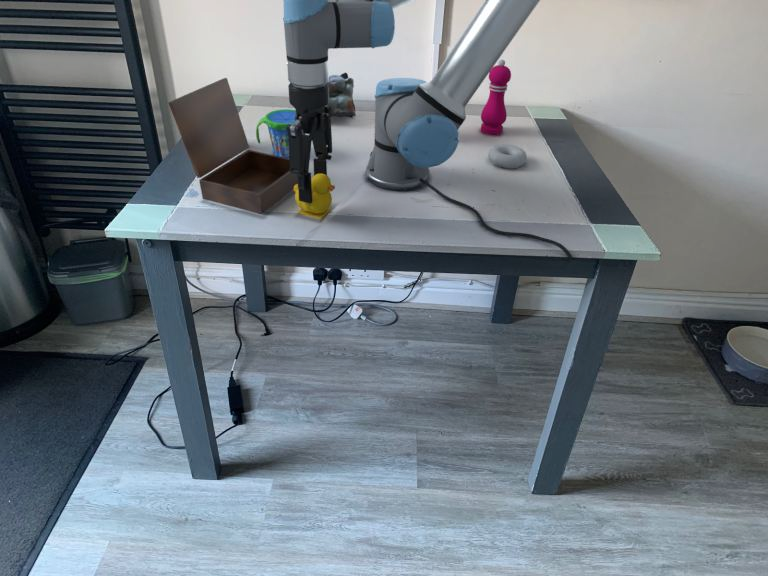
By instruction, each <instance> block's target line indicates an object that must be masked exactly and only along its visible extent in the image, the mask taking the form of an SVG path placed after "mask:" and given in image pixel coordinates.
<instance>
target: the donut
mask: <svg viewBox="0 0 768 576" xmlns="http://www.w3.org/2000/svg"><path fill="white" fill-rule="evenodd" d="M527 155H528V154H527V153H526V151H525V150H524V149H523V148H521V147H519V146H517V145H513V144H504V143H503V144H497V145H494V146H492V147H491V148H490V149H489V151H487V158H488V160H489V162H490V163H491V164H492V165H494V166H496V167H499V168H503V169H517V168H520V167H522V166H523V165H525V164H526V162H527V159H528V156H527Z"/></svg>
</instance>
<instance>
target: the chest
mask: <svg viewBox="0 0 768 576" xmlns="http://www.w3.org/2000/svg"><path fill="white" fill-rule="evenodd" d="M296 184H298V179H297V175H296V174H292V173H290V162H289V158H284V157H280V156H276V155H275V154H270V153H266V152H261V151H258V150H253V149H246V150H245V151H243V152H241V153H240V154H238V155H236V156H235V157H233V158H232V159H230V160H228V161H227V162H225V163H223V164H222V165H220V166H219V167H217V168H215V169H214V170H212V171H211V172H209V173H207V174H206V175H204V176H202V177H201V178H199V186H200V191H201V197H202V199H203V200H206V201H210V202H213V203H216V204H220V205H224V206H229V207H232V208H236V209H240V210H242V211H247V212H251V213H255V214H259V215H264V214H265V213H266V212H267V211H268V210H269V209H271V208H272V207H273V206H275V205H276V204H277V203H278V202H280V201H281V200H283V199H284V198H285V197H287V195H288V194H290V193H291V192H292V191H294V186H295V185H296Z"/></svg>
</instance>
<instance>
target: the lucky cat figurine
mask: <svg viewBox="0 0 768 576" xmlns="http://www.w3.org/2000/svg"><path fill="white" fill-rule="evenodd" d="M327 84H328V85H329V103H328V105H327V106H331V107H332V112H331V118H342V117H345V118H353V117H356V116H357V113H356V105H355V103H354V96H353V95H354V87H355V84H354V78H352V77H349V74H348V73H347V72H343V73H341V74H340V75H339V74H331V75H329V81H328V82H327Z"/></svg>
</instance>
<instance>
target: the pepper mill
mask: <svg viewBox="0 0 768 576" xmlns="http://www.w3.org/2000/svg"><path fill="white" fill-rule="evenodd" d="M497 63H498V65H494V66H493V68H492V69H491V71H490V72H489V73H488V80H489V83H488V84H489V86H488V89H489V95H488V98H487V101H486V103H485V105H484V106H483V108H482V111H481V113H480V120H481V122H482V123H481V125H480V132H481V134H484V135H487V136H501V135H502V134H503V129H504V126H503V124H504V123H505V122H506V121H507V115H508V114H507V109H506V105H505V94H506V91H508V83H509V82H510V81H511V78H512V72H511V69H510V67H508V66H506V61H505V59H500V60H498V62H497Z"/></svg>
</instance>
